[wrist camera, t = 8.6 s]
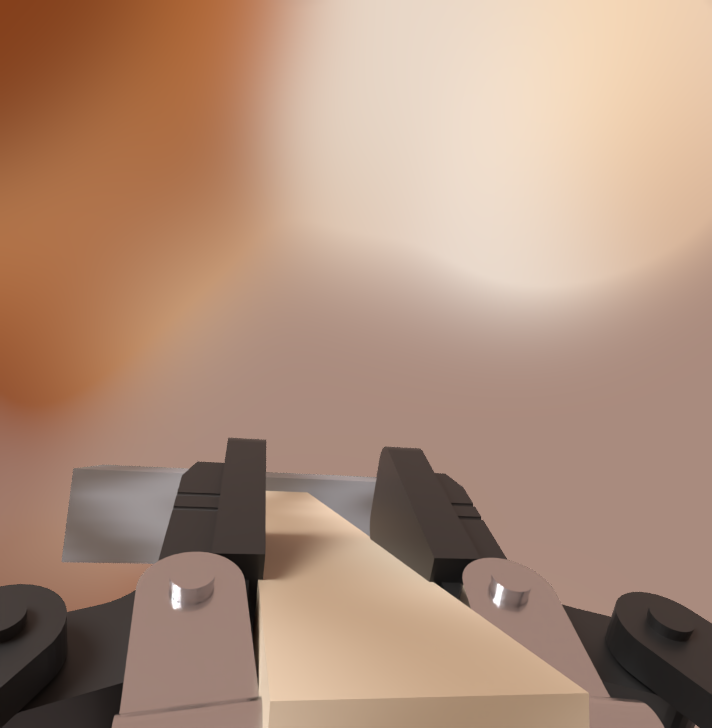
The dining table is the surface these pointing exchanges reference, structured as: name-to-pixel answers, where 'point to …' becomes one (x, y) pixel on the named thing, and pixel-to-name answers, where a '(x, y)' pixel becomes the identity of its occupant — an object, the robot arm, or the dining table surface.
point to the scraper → (339, 612)
